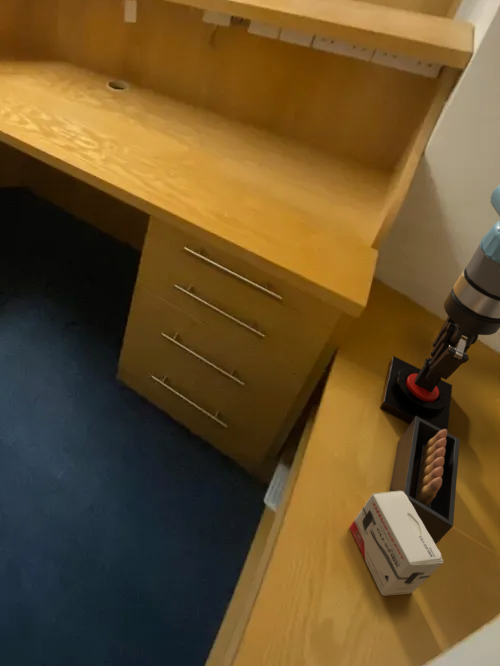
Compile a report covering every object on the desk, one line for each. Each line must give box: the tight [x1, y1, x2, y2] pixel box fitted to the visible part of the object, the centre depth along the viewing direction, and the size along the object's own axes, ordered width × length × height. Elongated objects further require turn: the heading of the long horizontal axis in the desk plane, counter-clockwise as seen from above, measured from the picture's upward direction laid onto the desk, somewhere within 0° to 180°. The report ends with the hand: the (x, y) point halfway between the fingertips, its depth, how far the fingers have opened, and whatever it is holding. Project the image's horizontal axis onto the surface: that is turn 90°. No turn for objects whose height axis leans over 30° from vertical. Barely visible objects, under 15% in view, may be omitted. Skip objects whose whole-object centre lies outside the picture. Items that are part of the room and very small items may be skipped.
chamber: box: [388, 416, 461, 546], centre depth 82 cm, size 6×15×8 cm, turn 142°
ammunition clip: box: [409, 429, 447, 508], centre depth 81 cm, size 11×2×12 cm, turn 142°
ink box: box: [349, 491, 444, 597], centre depth 74 cm, size 8×5×12 cm, turn 4°
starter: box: [379, 355, 453, 433], centre depth 97 cm, size 12×10×4 cm
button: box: [405, 374, 439, 403], centre depth 96 cm, size 5×5×2 cm
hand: (423, 384), depth 95 cm, fingers closed
